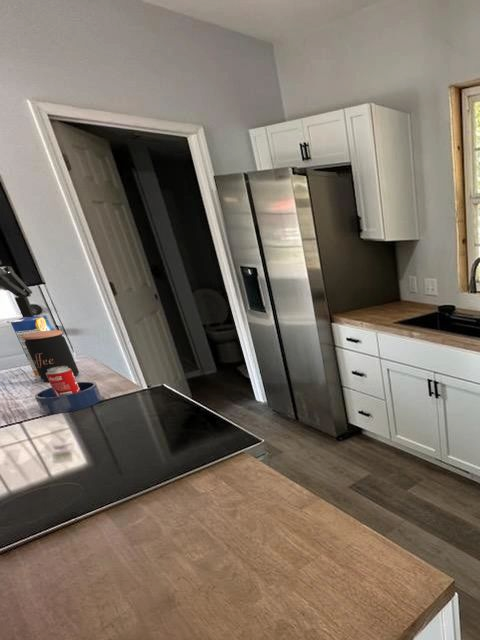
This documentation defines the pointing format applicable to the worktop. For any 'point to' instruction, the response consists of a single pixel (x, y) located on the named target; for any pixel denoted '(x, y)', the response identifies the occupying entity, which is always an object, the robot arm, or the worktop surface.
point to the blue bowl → (68, 399)
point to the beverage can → (62, 380)
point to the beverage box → (30, 326)
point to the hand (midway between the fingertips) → (8, 321)
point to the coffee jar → (49, 351)
